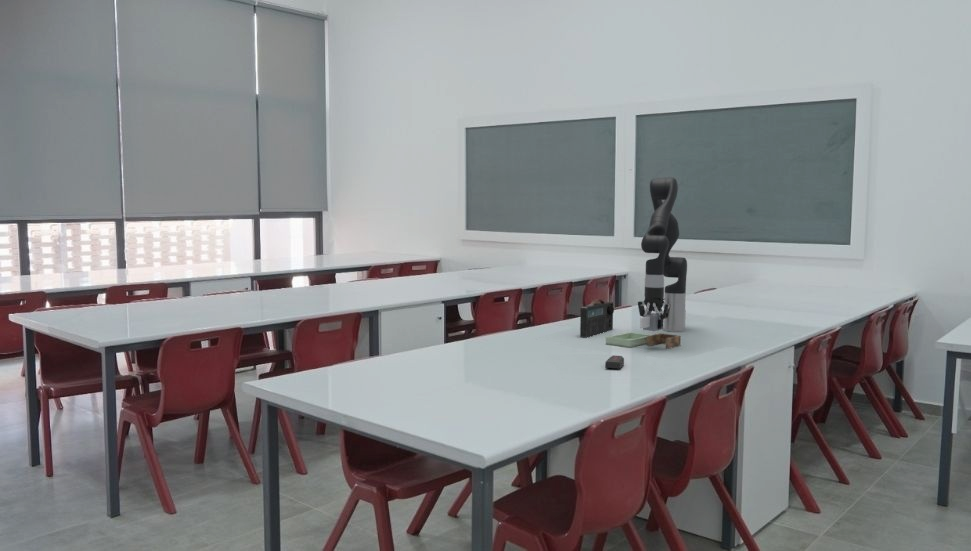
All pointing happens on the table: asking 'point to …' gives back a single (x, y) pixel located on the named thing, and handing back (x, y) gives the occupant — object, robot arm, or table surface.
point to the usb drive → (614, 362)
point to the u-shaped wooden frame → (664, 340)
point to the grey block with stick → (650, 322)
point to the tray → (627, 340)
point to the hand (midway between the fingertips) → (653, 328)
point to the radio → (596, 318)
